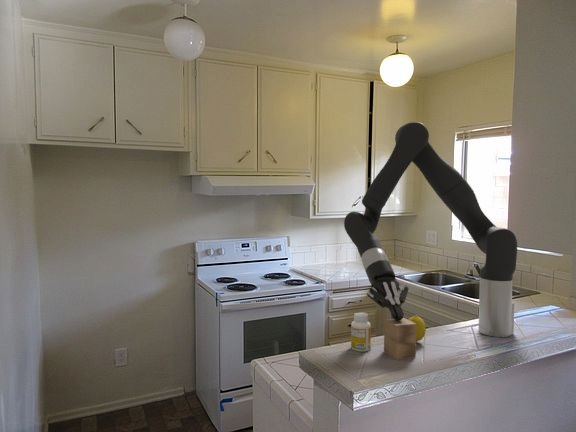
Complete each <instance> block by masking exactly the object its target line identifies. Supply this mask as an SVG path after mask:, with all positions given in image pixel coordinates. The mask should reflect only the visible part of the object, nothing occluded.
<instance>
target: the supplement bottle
mask: <svg viewBox="0 0 576 432" xmlns="http://www.w3.org/2000/svg"><path fill="white" fill-rule="evenodd" d="M350 325H351V326H350V327H351V329H350V331H351V332H350V347H351V349H352V350H353V351H355V352H362V353H363V352H368V351H370V350H371V344H372V343H371V337H372V335H371V334H372V333H371V332H372V326H371V322H369V314H368V313H367V312H356V313H354V314H353V321H352V322H351V323H350Z"/></svg>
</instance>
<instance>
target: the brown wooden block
mask: <svg viewBox="0 0 576 432" xmlns="http://www.w3.org/2000/svg"><path fill="white" fill-rule="evenodd" d="M383 327H384V328H383V331H384V332H383V335H384V337H383V353H385V354H387V355H388V356H390V357H391V358H392V359H394V360H403V359H412V358H416V357H417V356H416V352H417V342H416V323H414V322H412V321H409V319H407V318H405V317H403V318H402V320H399V321H395V319H394V318H387V319H386V318H385V319H384V325H383Z"/></svg>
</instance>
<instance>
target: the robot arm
mask: <svg viewBox="0 0 576 432" xmlns="http://www.w3.org/2000/svg"><path fill="white" fill-rule="evenodd" d="M429 139H430V133H429V131H428V128H427V127H426V126H425V125H424V123H421V122H419V121H411V122H407V123H405V124H403V125H401V126H400V127H399V128H398V129H397V131H396V133H395V138H394V140H395V145H394V147H393V150H392V152H391V154H390V156H389V157H388V159H387V161H386V162H385V164H384V165H383V167H382V168H381V169H380V171H379V172H378V174H377V175H376V176H375V177H374V179H373V180H372V182H371V184H370V185H369V187H368V188H367V190H366V191H365V194H364V195H363V197H362V199H361V204H362V205H363V207H365V211H364V214H363V213H361V212H359V211H351V212H349V213H347V215H345V218H344V221H343V226H344V230H345V232H346V234H347V236H348V237H349V238H350V240H351V242H352V243H353V244H354V245H355V246H356V248H357V251H358V254H359V257H360V260H361V263H362V267H363V269H364V271H365V273H366V277H367V279H368V281H369V283H370V287H371V288H369V290H368V292H367V293H366V296H367V297H369V299H371V300H372V301H374V302H375V303H376V304H377V305H378V306H379V307H381V308H386V309H388V310H389V311H390V314H391V318H392V319H395V321H399V320H402V318H404V316H405V314H404V311H403V309H402V305H403V304H404V303H405V302H406V300H407V295H408V293H409V288H410V287H409V286H406V285H405V286H402V285H400V282H399V281H398V280H397V278H396V274H395V270H394V268H393V267H392V264H391V263H390V260H389V258H388V256H387V254H386V253H385V251H384V249H383V246H382V244H381V242H380V241H379V239H378V237H377V236H376V235H375V234H374V233H375V232H376V230H377V226H378V224H379V222H380V219H381V218H380V217H381V215H382V210H383V208H384V207H385V206H386V204H387V202H388V201H389V198H390V197H391V195H392V193H393V192H394V190H395V188H396V187H397V185H398V183H399V181H400V179H402V177H403V175H404V173H405V172H406V171H407V169H408V168H409V166H410V165H411V163H413V164H414V165H415V166H416V167H417V168H418V170H419V171H420V173H422V176H423V177H424V178H425V180H426V181H427V183H428V184H429V186H430V187H431V188H432V189H433V191H434V192H435V194H436V195H437V196H438V198H439V199H440V200H441V201H442V202H443V203H444V205H445V206H446V207H447V208H448V209H449V210H450V211H451V213H452V214H453V215H454V216H455V217H456V218H457V220H458V221H459V222H460V223H461V224H462V226H464V228H465V230H467V232H468V233H469V235H470V237H471V238H472V240H473V242H474V243H475V244H476V246H477V248H478V249H479V250H480V251H481V252H483V254H485V262H484V263H485V264H484V266H483V267H481V268H480V269H479V295H478V296H479V298H478V332H479V333H481V334H483V335H485V336H489V337H496V338H507V337H510V336H512V335H514V331H515V330H514V329H515V327H514V326H515V325H514V324H515V303H513V279H514V278H513V277H514V273H515V271H516V268H517V257H518V256H517V255H518V241H517V240H518V239H517V237H516V234H515V233H514V232H513V231H512V230H511V229H508V228H503V227H498V226H496V225H495V224H494V223H493V222H492V221H491V220H490V219H489V217H487V215H486V214H485V213H484V212H483V210H482V208H481V207H480V204H479V201H478V198H477V195H476V193H475V191H474V190H473V188H472V186H471V185H470V184H469V182H467V180H466V179H465V178H464V177H463V175H462V173H460V172H459V171H458V170H457V169H456V168H454V167H453V166H452V165H451V164H450V163H449V162H448V161H446V160H445V159H444V158H442V156H440V155H439V154H438V153H437V151H436V150H435V149H434V148H433V146H432V144H431V143H430V142H429Z"/></svg>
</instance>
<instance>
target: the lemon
mask: <svg viewBox="0 0 576 432" xmlns="http://www.w3.org/2000/svg"><path fill="white" fill-rule="evenodd" d="M408 320H409V321H412V322H414V323H416V343H417V342H420V341H421V340H423V339H424V337H425V335H426V329H427V327H426V323H425V321H424V319H422V318H421V317H420V316H418V315H415V314H414V316H411V317H410V318H408Z"/></svg>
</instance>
